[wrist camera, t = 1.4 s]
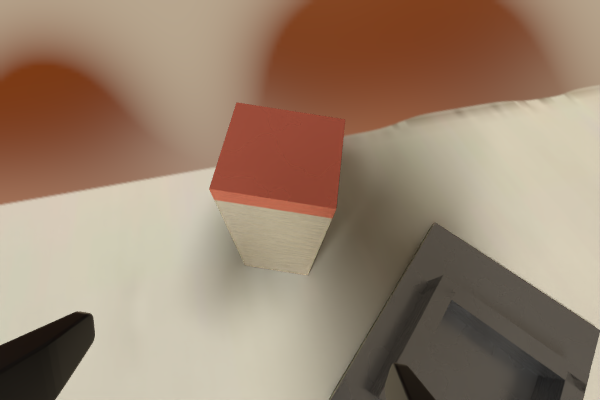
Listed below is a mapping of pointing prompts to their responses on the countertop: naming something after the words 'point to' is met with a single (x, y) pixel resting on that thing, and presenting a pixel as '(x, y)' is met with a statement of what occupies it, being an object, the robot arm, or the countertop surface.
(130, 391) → the countertop surface
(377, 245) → the countertop surface
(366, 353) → the plate
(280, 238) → the block
